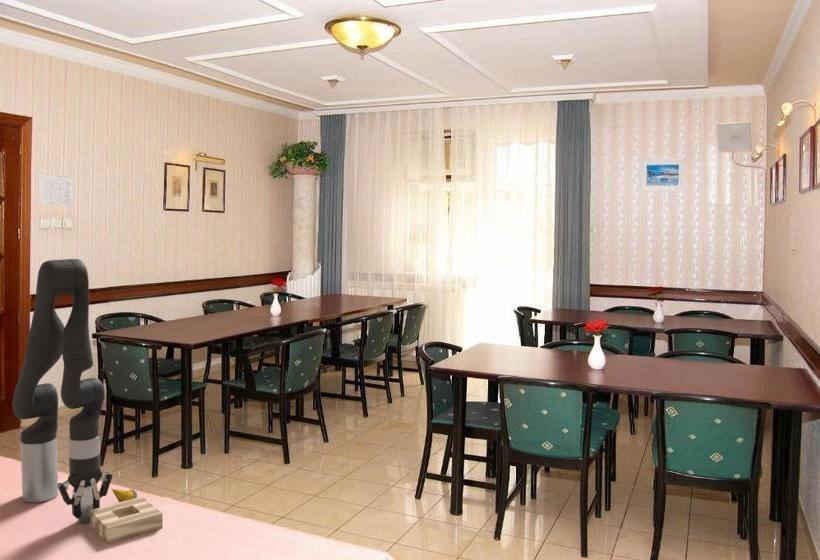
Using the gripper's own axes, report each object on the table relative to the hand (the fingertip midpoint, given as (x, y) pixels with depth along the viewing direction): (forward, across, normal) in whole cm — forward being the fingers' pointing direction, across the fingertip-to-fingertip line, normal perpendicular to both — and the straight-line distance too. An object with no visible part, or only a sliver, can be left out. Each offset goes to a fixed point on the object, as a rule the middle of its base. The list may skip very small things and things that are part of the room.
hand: (86, 514), depth 185 cm
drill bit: (+2, -11, -1) cm, 11 cm away
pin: (+2, 0, 0) cm, 2 cm away
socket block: (+2, -7, +10) cm, 12 cm away
